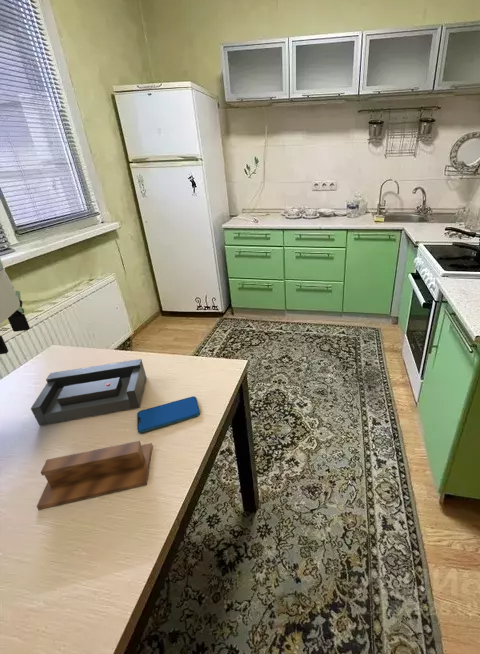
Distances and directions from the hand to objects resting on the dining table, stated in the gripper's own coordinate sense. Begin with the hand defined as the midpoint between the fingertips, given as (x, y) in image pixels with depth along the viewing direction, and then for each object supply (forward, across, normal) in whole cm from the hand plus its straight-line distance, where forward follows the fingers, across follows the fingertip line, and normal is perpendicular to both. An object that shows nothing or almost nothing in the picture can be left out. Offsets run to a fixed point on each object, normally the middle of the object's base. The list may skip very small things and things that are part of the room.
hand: (11, 341), depth 71 cm
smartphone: (+25, +4, +29) cm, 39 cm away
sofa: (+25, -8, +9) cm, 28 cm away
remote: (+22, -5, +9) cm, 24 cm away
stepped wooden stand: (+25, +18, +16) cm, 35 cm away
